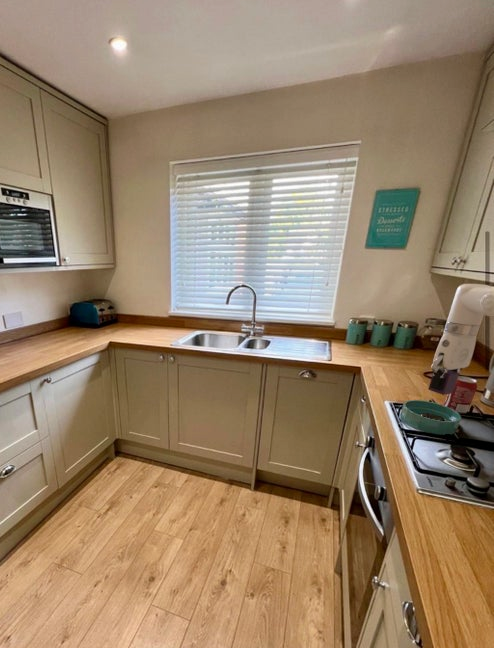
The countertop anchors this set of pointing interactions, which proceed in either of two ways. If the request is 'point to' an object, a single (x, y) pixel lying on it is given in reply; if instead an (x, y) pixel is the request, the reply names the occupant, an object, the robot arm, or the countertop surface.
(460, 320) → the robot arm
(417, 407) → the bowl
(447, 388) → the snack carton
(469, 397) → the soda can
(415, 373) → the countertop surface
